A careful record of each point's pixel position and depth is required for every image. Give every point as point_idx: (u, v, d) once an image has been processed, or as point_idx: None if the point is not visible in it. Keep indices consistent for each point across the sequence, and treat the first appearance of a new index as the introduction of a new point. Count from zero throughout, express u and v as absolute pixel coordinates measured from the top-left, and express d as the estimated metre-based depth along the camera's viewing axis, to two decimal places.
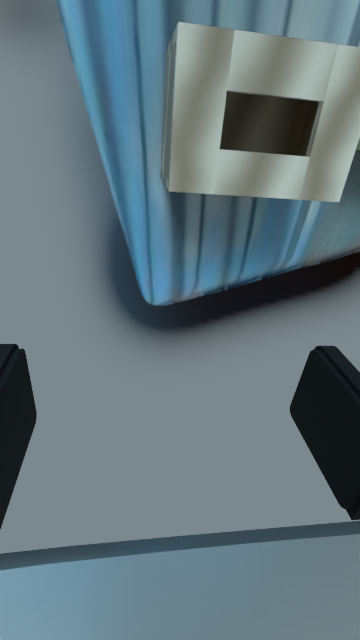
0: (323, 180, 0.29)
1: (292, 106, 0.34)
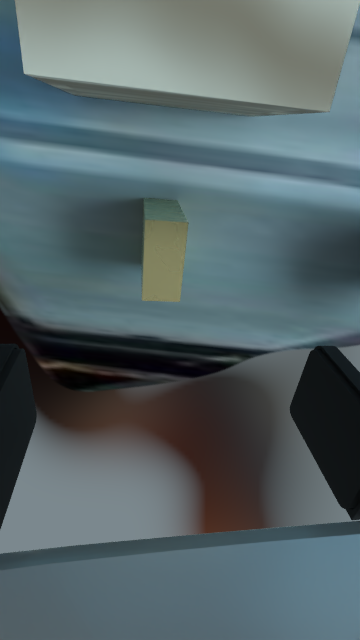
0: None
1: None
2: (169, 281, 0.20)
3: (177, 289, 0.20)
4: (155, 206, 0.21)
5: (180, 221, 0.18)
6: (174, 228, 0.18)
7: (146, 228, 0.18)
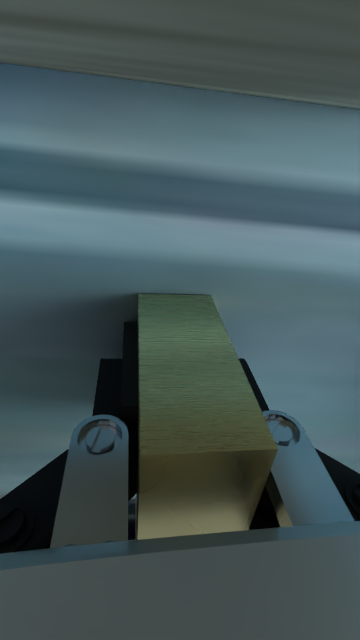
0: None
1: None
2: None
3: None
4: (166, 337, 0.08)
5: (252, 444, 0.06)
6: (233, 464, 0.06)
7: (145, 473, 0.06)
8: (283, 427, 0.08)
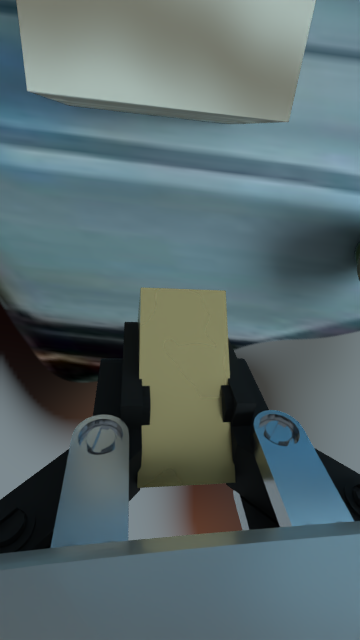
0: (69, 24, 0.12)
1: None
2: (204, 425, 0.08)
3: (224, 446, 0.08)
4: None
5: (209, 291, 0.09)
6: (200, 302, 0.09)
7: (143, 304, 0.09)
8: (282, 427, 0.08)
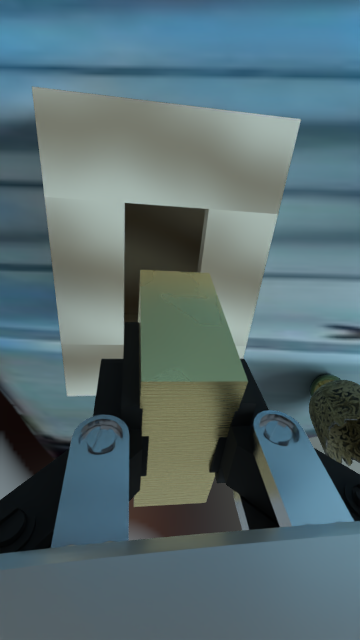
0: (94, 369, 0.19)
1: None
2: (205, 341, 0.08)
3: (230, 355, 0.08)
4: None
5: None
6: (189, 277, 0.11)
7: (143, 276, 0.10)
8: (282, 427, 0.08)
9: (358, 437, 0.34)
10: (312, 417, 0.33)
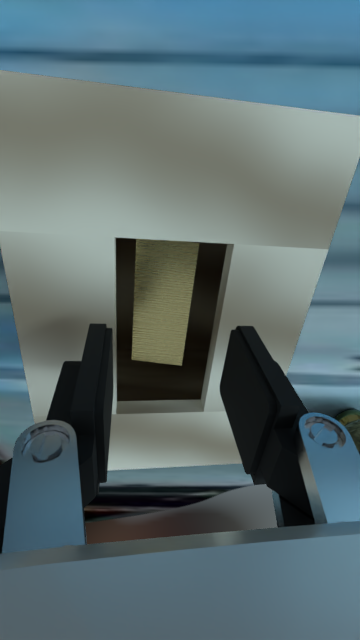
0: None
1: None
2: None
3: None
4: None
5: None
6: None
7: None
8: (328, 431, 0.08)
9: None
10: None
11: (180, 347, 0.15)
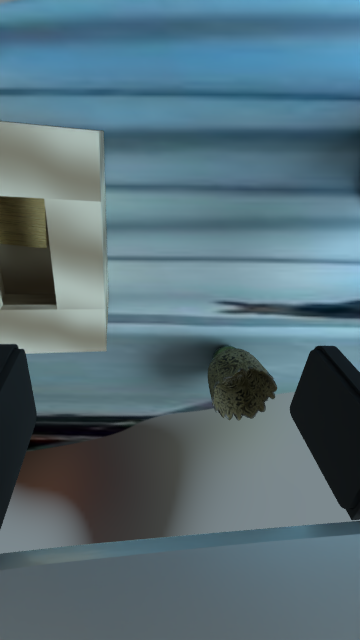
0: None
1: None
2: None
3: None
4: None
5: None
6: None
7: None
8: None
9: (250, 397, 0.40)
10: (208, 381, 0.38)
11: None
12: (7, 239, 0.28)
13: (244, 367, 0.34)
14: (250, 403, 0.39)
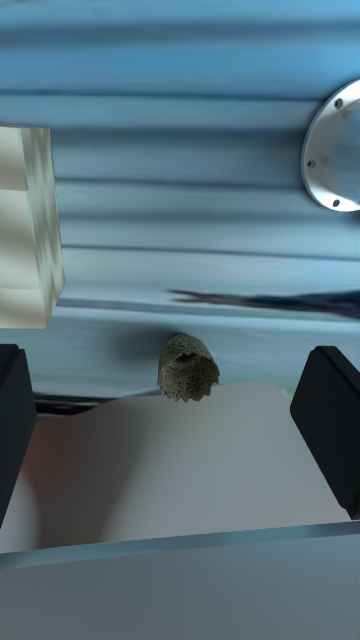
0: None
1: None
2: None
3: None
4: None
5: None
6: None
7: None
8: None
9: (200, 382, 0.42)
10: None
11: None
12: None
13: (187, 351, 0.37)
14: (198, 387, 0.41)
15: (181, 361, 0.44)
